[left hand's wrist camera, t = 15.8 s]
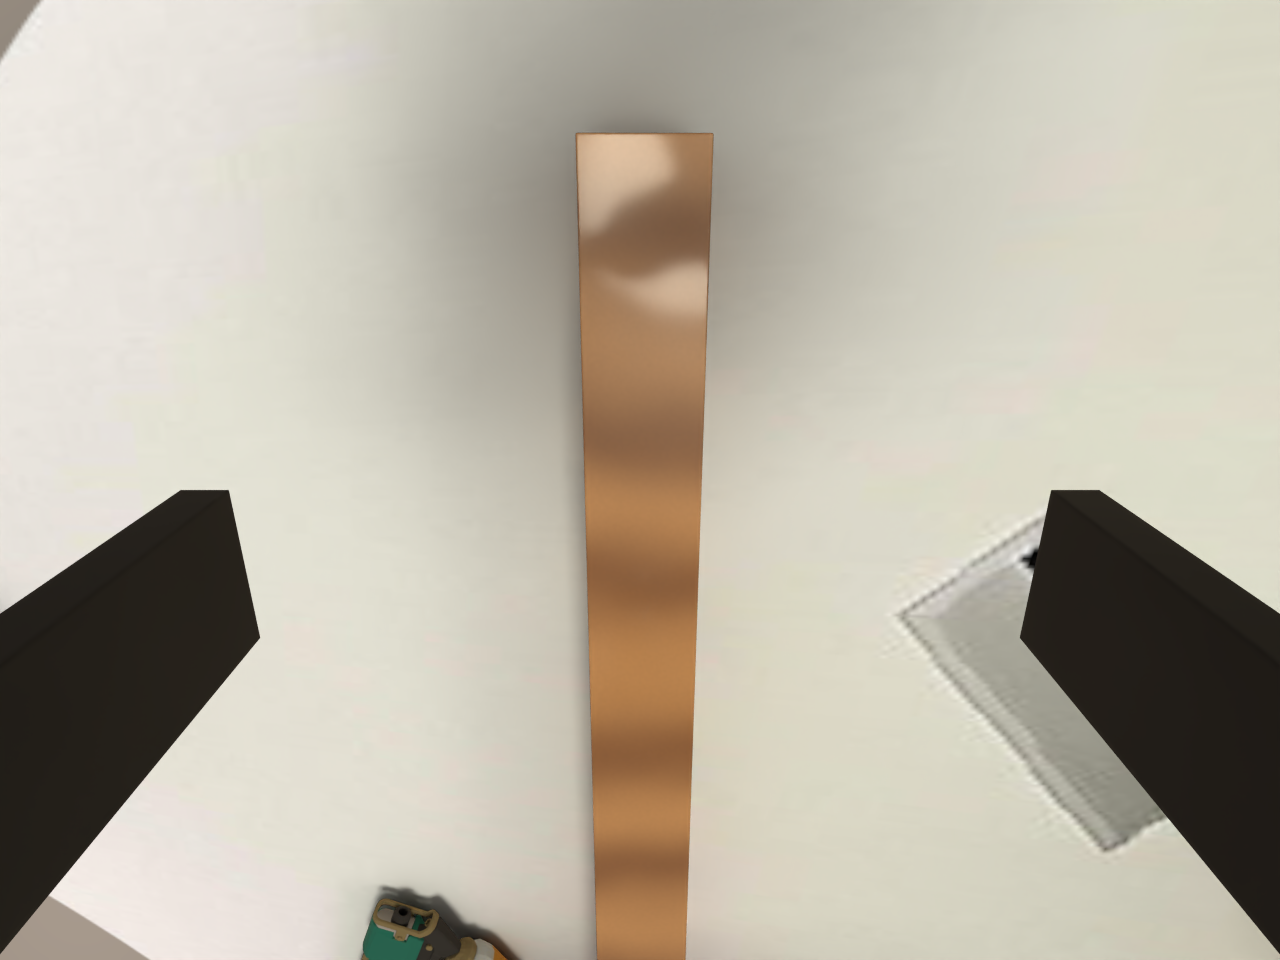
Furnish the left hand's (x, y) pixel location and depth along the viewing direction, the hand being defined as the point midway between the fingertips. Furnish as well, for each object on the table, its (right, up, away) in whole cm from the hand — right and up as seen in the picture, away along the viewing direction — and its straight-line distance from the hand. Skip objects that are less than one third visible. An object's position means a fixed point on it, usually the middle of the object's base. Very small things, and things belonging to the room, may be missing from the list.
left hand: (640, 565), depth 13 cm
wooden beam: (0, -11, +39) cm, 40 cm away
